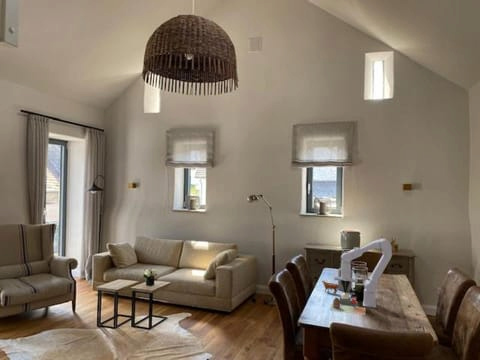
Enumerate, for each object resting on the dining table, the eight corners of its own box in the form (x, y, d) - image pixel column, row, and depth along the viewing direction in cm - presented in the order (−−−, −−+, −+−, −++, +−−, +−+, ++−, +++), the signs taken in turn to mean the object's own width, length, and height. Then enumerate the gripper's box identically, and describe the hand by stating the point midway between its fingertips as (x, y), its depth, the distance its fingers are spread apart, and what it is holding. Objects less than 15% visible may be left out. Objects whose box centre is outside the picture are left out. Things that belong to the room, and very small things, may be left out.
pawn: (333, 306, 231) (333, 296, 231) (340, 307, 230) (340, 297, 230) (332, 308, 227) (333, 298, 227) (339, 309, 226) (339, 299, 226)
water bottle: (346, 287, 275) (347, 250, 275) (354, 291, 266) (355, 252, 266) (335, 288, 272) (336, 250, 272) (342, 292, 262) (343, 253, 262)
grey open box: (339, 300, 243) (340, 295, 243) (357, 303, 239) (357, 297, 239) (339, 304, 236) (339, 298, 236) (357, 306, 232) (357, 300, 232)
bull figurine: (322, 289, 267) (323, 278, 267) (339, 294, 257) (339, 282, 257) (319, 291, 264) (319, 279, 264) (336, 295, 254) (336, 283, 254)
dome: (341, 298, 241) (341, 291, 241) (349, 299, 240) (349, 292, 240) (341, 300, 237) (341, 293, 237) (348, 301, 235) (349, 294, 235)
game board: (331, 303, 237) (331, 303, 237) (366, 308, 230) (366, 307, 230) (329, 311, 222) (329, 310, 222) (365, 316, 215) (365, 315, 215)
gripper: (333, 271, 237) (333, 292, 237) (357, 274, 232) (356, 295, 232) (334, 269, 244) (334, 289, 244) (357, 271, 239) (357, 292, 239)
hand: (345, 292), depth 238 cm, fingers closed
